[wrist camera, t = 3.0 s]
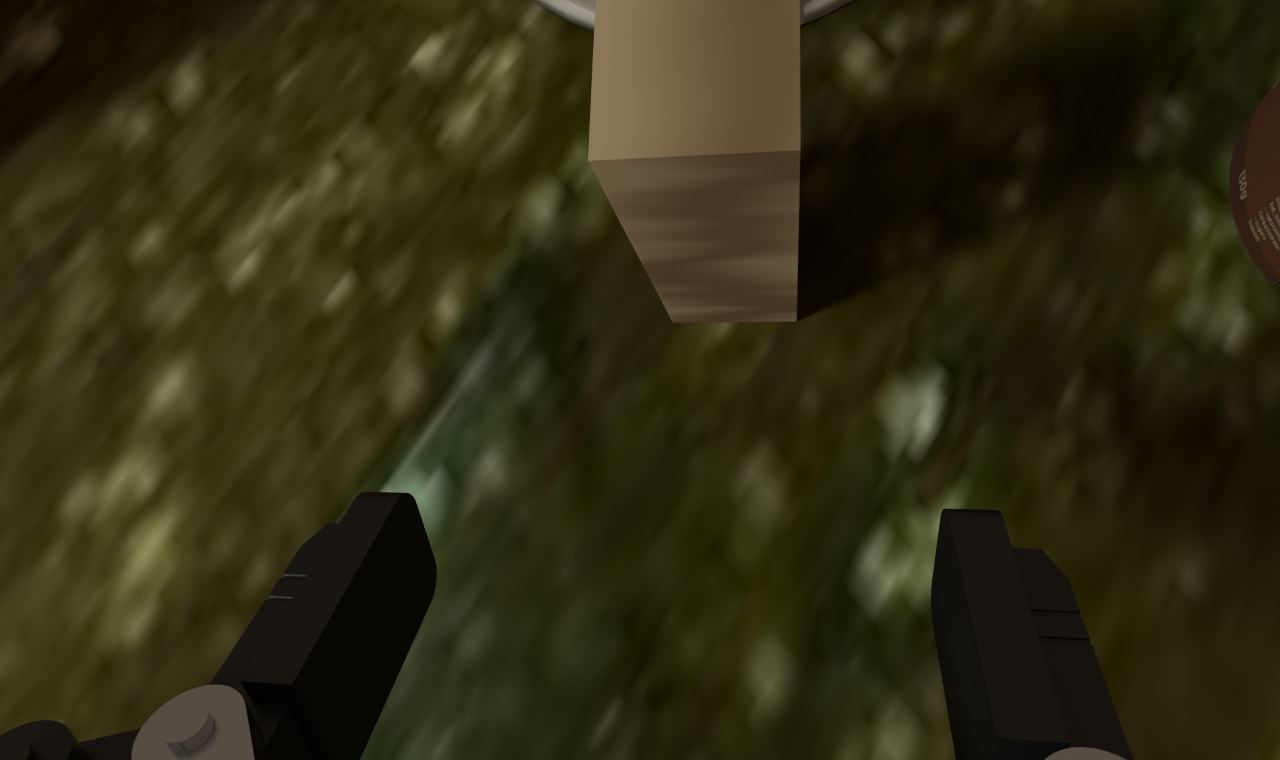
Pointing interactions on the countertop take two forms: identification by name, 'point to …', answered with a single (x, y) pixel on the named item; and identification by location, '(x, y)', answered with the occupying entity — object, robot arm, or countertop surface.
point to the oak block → (703, 149)
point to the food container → (1259, 185)
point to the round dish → (579, 6)
